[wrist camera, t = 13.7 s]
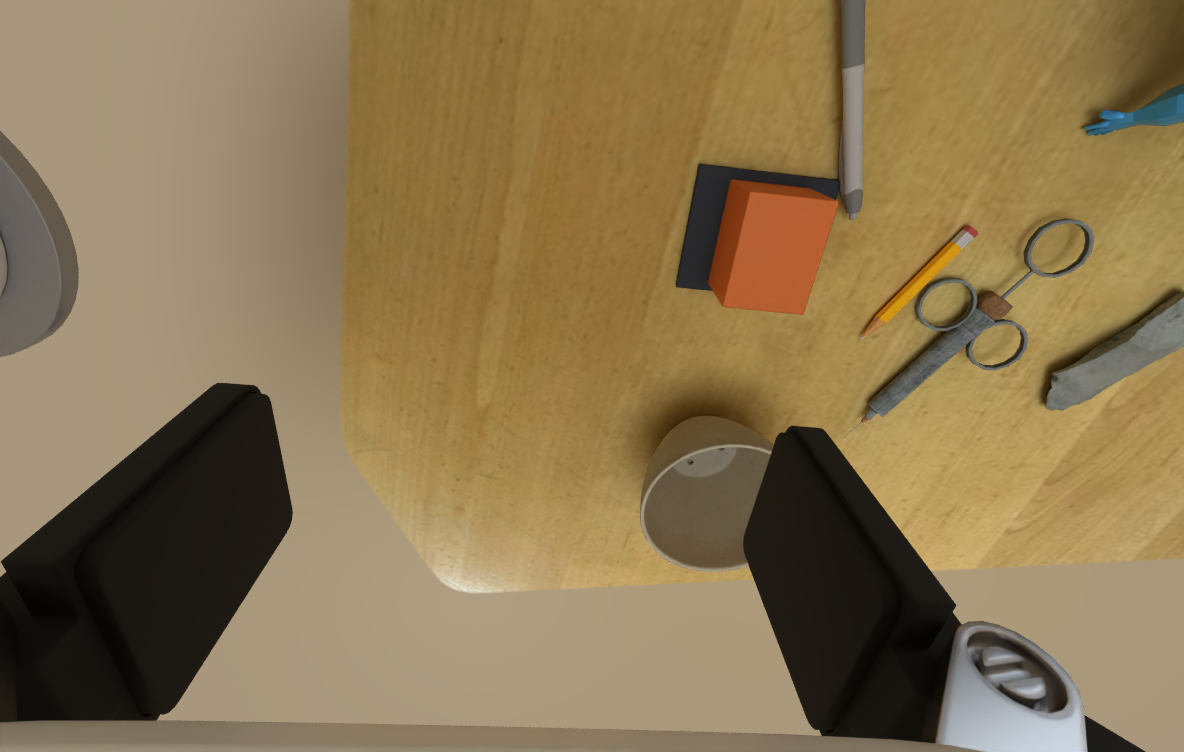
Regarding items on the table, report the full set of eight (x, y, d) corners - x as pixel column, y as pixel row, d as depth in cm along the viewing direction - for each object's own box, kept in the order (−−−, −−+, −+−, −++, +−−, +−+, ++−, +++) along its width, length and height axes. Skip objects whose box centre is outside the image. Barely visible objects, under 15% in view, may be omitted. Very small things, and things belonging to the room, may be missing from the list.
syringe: (888, 474, 37) (879, 460, 39) (1142, 268, 30) (1119, 261, 31) (804, 413, 36) (799, 401, 38) (1047, 184, 29) (1028, 181, 30)
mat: (675, 285, 32) (676, 287, 32) (698, 163, 29) (700, 164, 29) (802, 298, 33) (804, 300, 33) (839, 180, 30) (842, 181, 29)
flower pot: (773, 485, 40) (808, 559, 34) (642, 506, 41) (653, 582, 35) (767, 371, 35) (807, 431, 29) (620, 397, 36) (627, 462, 30)
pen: (837, 218, 30) (847, 223, 29) (832, -89, 24) (846, -99, 23) (855, 214, 30) (866, 219, 29) (855, -95, 24) (870, -106, 23)
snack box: (730, 178, 29) (750, 190, 26) (809, 188, 29) (839, 201, 26) (707, 283, 32) (722, 307, 29) (779, 290, 32) (803, 315, 29)
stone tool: (1026, 378, 35) (1038, 411, 38) (1048, 395, 34) (1058, 427, 37) (1193, 274, 32) (1192, 318, 35) (1223, 289, 31) (1219, 333, 34)
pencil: (981, 234, 30) (974, 227, 30) (866, 345, 34) (859, 340, 33) (971, 230, 31) (964, 224, 31) (859, 339, 34) (853, 334, 34)
